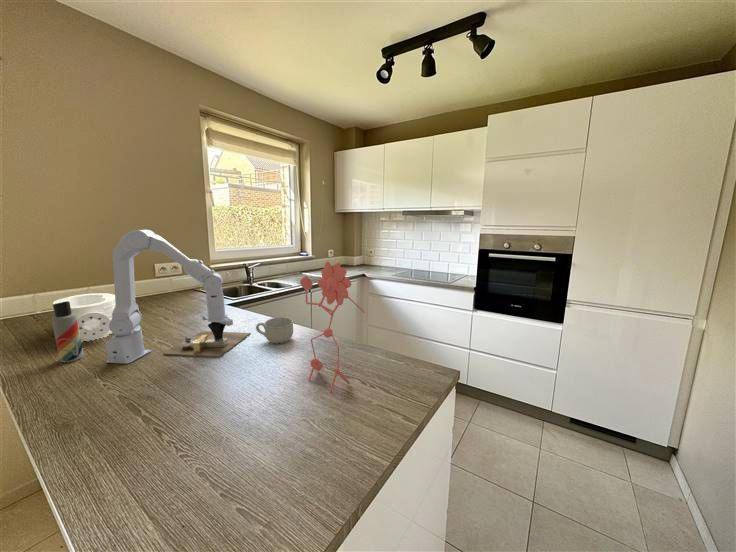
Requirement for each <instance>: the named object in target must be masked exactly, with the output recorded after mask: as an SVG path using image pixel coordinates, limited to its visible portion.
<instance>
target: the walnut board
mask: <svg viewBox="0 0 736 552" xmlns="http://www.w3.org/2000/svg"><path fill="white" fill-rule="evenodd" d="M202 335H208V337H207V338H206V339H215V338H214V334H213V332H212V331H209V330H207V331H206V330H202V331H200V332H198V333H196V334H195V335H192V336H190V337H191V339H194V340H196V339H198V338H200V337H201V336H202ZM247 336H248V337H249V336H251V332H237V331H235V332H233V331H232V332H231V331H223V338H227V345H226V346H225V347H206V348H202V349H203V350H202V351H201V352H200V353H194V348H189V349H183V348H182V342H181V343H179V344H177V345H175V346H174V347H172V348H170V349H168V350H167V351H165V352H163V353H162V354H163V356H175V355H179V356H178V357H195V356H199V358H200V357H201V358H215V357H221V356H222V355H223V356H225V355H226V354H227V353H229V352H230V351H231V350H232V349H234V348H235V347H236V346H238V345H239V344H240V343H242V340H243V339H244V340H245V339H246V338H248V337H247ZM244 340H243V341H244ZM238 343H239V344H238ZM234 346H235V347H234ZM233 347H234V348H233ZM230 349H231V350H230ZM229 350H230V351H229ZM226 352H227V353H226ZM225 353H226V354H225ZM224 354H225V355H224ZM223 356H222V357H223ZM222 357H221V358H222Z"/></svg>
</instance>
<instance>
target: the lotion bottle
mask: <svg viewBox="0 0 736 552" xmlns="http://www.w3.org/2000/svg"><path fill="white" fill-rule="evenodd" d="M52 306H53V313H54V316H53V317H51V323H52V328H53V334H54V339H55V343H56V349H57V354H58V358H59V362H60V363H62V362H64V364H66V363H65V362H67V363H72V362H76V361H79V360H81V359H83V358H84V350H83V342H81V338H80V332H79V327H78V322H77V317H76V314H72V311H71V307H70V302H69V301H65V302H61V303H57V304H53V303H52Z"/></svg>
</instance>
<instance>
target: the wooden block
mask: <svg viewBox="0 0 736 552" xmlns="http://www.w3.org/2000/svg"><path fill="white" fill-rule="evenodd" d="M191 337H192V336H186V337H184V340H183V341H181V343H182V348H183V349H189V348H194V347H193V343H194V342H195V341H196V340H197V339H196V340H194V339H191ZM226 345H227V338H223V339H205V340H204V341H203V342H202V348H206V347H225V346H226Z"/></svg>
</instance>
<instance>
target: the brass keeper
mask: <svg viewBox="0 0 736 552" xmlns="http://www.w3.org/2000/svg"><path fill="white" fill-rule="evenodd" d="M207 337H208V335H202V336H201V337H200V338H198V339H197V340H196V341H195V342H194V343H193V347H194V353H200V352H201V351H202V350H203V349H202V342H203V341H204V340H205V339H206V338H207Z"/></svg>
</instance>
